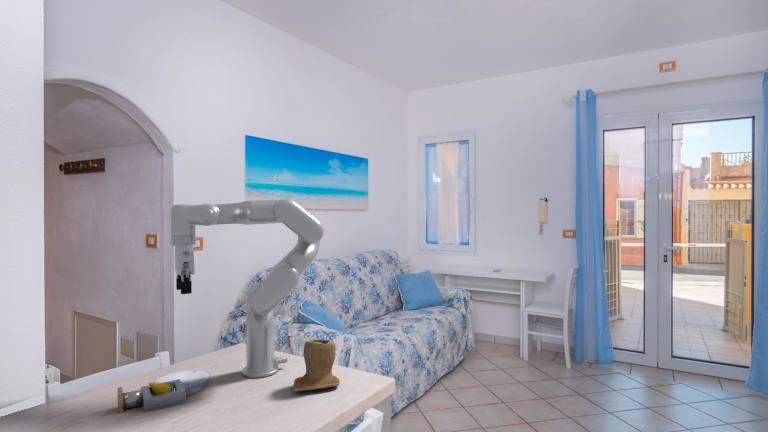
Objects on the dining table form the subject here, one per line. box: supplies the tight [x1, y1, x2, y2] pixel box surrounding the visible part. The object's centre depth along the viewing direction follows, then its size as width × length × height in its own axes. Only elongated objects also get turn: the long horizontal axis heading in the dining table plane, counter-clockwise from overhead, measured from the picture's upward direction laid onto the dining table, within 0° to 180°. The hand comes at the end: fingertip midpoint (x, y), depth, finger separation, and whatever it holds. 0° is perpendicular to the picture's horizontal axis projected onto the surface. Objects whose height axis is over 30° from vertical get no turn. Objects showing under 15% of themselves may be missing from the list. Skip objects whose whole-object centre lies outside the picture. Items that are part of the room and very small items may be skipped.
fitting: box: [116, 378, 187, 414], centre depth 130 cm, size 17×11×6 cm, turn 123°
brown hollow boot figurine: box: [293, 338, 341, 392], centre depth 142 cm, size 15×12×15 cm
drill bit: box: [148, 382, 174, 394], centre depth 131 cm, size 5×5×10 cm
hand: (183, 291), depth 147 cm, fingers open, 9 cm apart
